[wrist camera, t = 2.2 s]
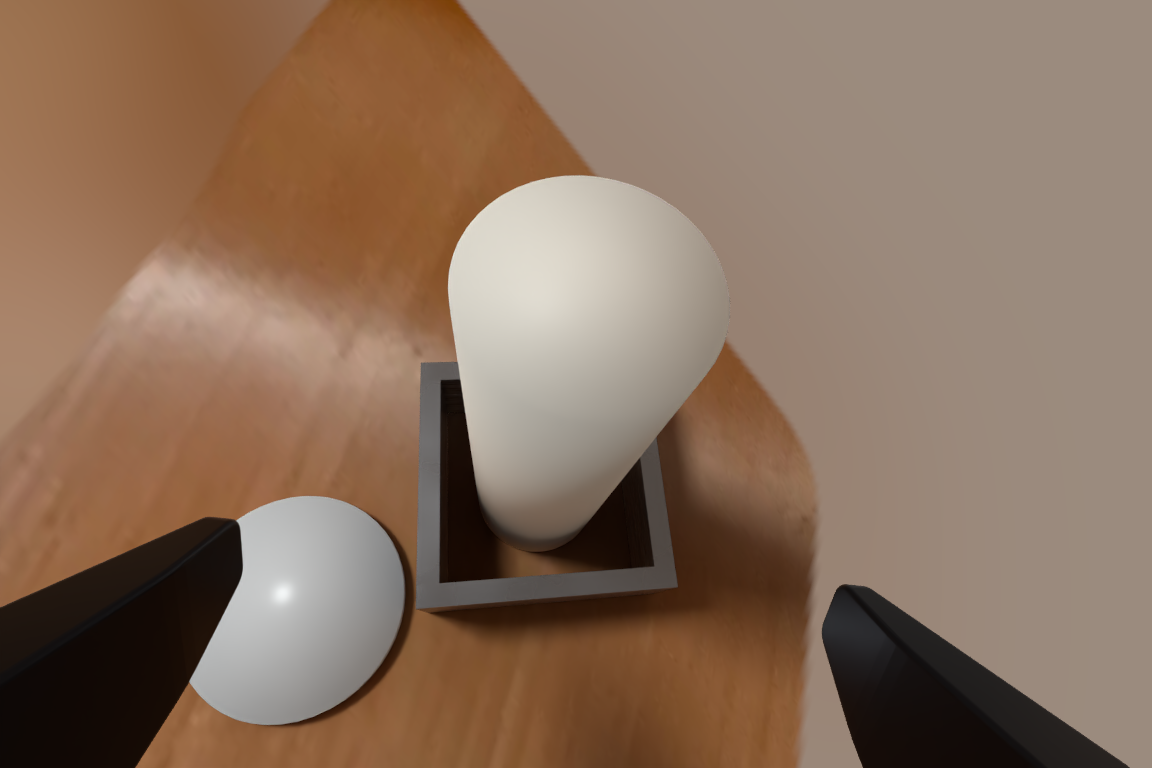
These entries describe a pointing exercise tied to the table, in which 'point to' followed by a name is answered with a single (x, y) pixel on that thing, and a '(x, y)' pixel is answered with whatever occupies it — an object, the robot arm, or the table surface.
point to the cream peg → (576, 344)
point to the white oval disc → (303, 612)
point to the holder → (437, 595)
